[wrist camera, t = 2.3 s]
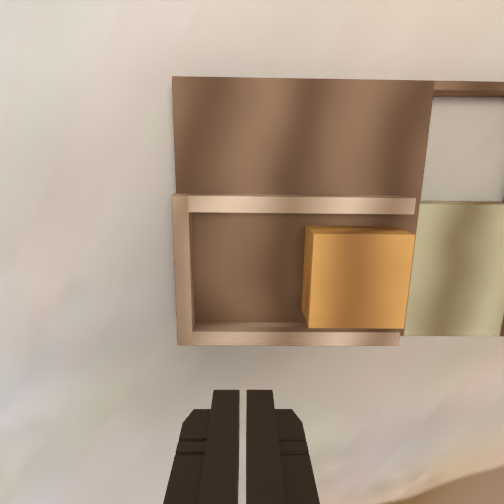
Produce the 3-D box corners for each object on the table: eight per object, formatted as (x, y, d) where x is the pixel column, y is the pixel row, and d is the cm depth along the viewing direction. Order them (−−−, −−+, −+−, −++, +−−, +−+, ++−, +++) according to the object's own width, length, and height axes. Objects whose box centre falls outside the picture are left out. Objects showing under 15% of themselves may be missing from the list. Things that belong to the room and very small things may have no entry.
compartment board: (538, 89, 24) (585, 77, 21) (494, 324, 28) (528, 346, 25) (177, 83, 24) (166, 70, 20) (185, 322, 28) (177, 345, 24)
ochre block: (394, 226, 24) (415, 234, 21) (386, 309, 26) (403, 328, 23) (305, 225, 24) (313, 233, 21) (301, 309, 26) (308, 328, 23)
